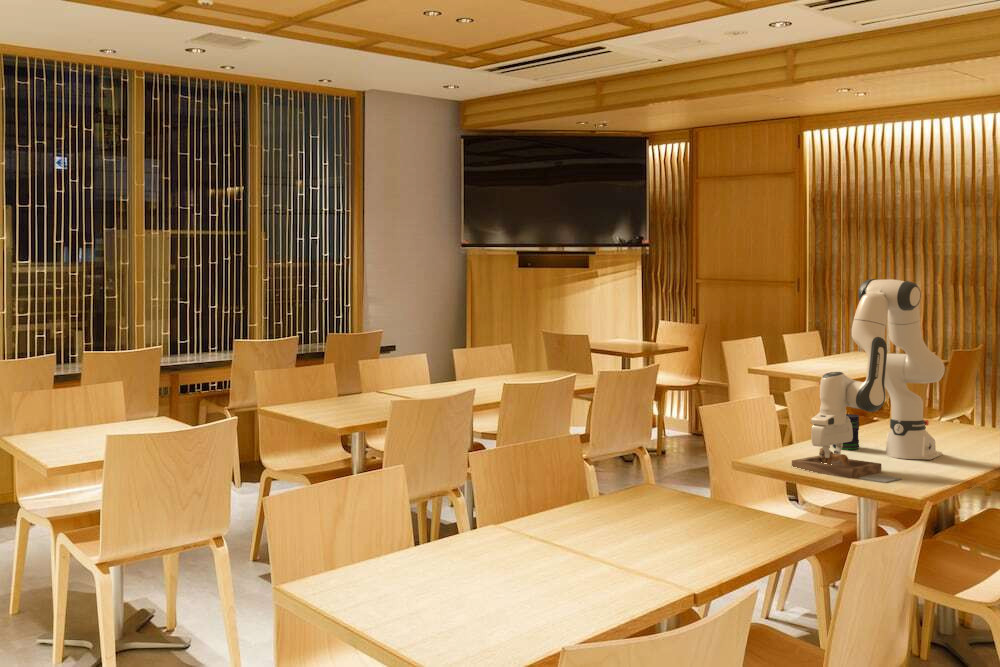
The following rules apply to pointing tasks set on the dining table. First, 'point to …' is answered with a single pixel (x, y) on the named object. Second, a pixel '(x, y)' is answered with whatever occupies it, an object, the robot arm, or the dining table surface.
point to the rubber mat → (880, 478)
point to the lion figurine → (834, 458)
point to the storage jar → (855, 442)
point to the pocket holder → (838, 467)
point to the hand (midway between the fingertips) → (832, 456)
